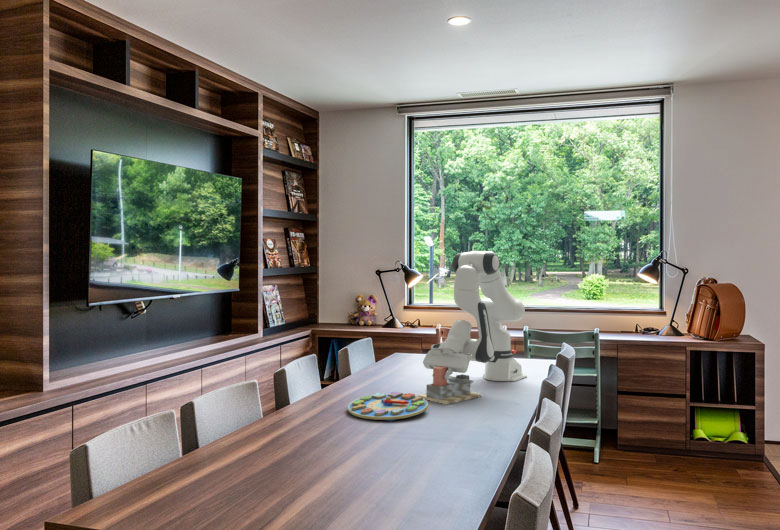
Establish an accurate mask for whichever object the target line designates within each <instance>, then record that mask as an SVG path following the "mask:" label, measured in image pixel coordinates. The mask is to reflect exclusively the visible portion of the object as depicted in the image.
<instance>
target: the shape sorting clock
mask: <svg viewBox="0 0 780 530" xmlns="http://www.w3.org/2000/svg"><path fill="white" fill-rule="evenodd" d="M428 408H429V402H428V400H425V399H423V397H418V395H415V393H409V392H408V393H403V392H399V391H391V392H390V393H383V392H377V393H374V394H371V395H366V396H363V397H362V396H361V397H358V398H356V399H354V400H352V401H351V402H349V404H348V405H347V411H348V412H349V413H350V414H351V415H352V416H354V417H356V418H357V417H358V418H362V419H365V420H376V421H377V420H379V421H382V420H383V421H387V422H394V421H398V420H401V419H406V418H411V417H414V416H417V415H420V414H422V413H425V411H427V409H428Z"/></svg>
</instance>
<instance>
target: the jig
mask: <svg viewBox="0 0 780 530" xmlns="http://www.w3.org/2000/svg"><path fill="white" fill-rule="evenodd" d="M471 384H475V383H474V380H472V379H470V375H467V374H464V373H461V374H456V375H455V376H452V375H450V376H448V378H447V385H445V386H440V387H438V386H433V383H429V384H426V393H422V394H418V395H417V396H418V397H423V399H426V401H428V400H430V401H429V402H433V401H434V402H433V403H437V402H438V404H441V403H442V404H441V405H445V404H447V405H451V404H450V403H452V404H455V403H454V402H456V403H460V402H464V401H463V400H465V401H468V400H467V399H469V400H472V399H471V398H474V399H477V398H476V397H478V398H481V397H480V396H482V393H479V392H476V391H475V392H474V391H471ZM459 401H460V402H459Z"/></svg>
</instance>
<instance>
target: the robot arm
mask: <svg viewBox="0 0 780 530" xmlns="http://www.w3.org/2000/svg"><path fill="white" fill-rule="evenodd" d="M451 266H452V269H453V271H454V272H453V273H455V277H454V283H453V284H454V285H453V299H454V303H455V305H456V306H457V307H458V309H459V308H460V310H462V311H464V312H466V313H468V314H470V315H472V316H473V317H474V319H475V320H476V325H477V333H478V338H471V333H472V332H471V331H472V327H473V326H472V323H471V322H469V321H467V320H464V319H457V320H455V321H454V322H453V323H452V325H451V328H450V329H449V331H448V333H447V336H446V337H447V338H446V339H444V341H443V342H440V343H435V344H432V345H431V346H430V350H428V352H427V353H426V354H425V356H424V358H423V360H422V364H423V366H424V368H425V369H428V370H433V368H435V367H438V366H440V367H447V373H446V374H445V373H444V374H443V379H447V378H448V376H452V375H453V373H461V374H465V373H467V371H468V368H469V366H470V362H478V363H481V364H482V363H483V364H484V365H485V366H484V373H483V374H482V376H483V379H485V380H487V381H494V382H517V381H519V380H521V379H526V378H527V377H528V375H527V374H524V373H523V369H522V368H523V367H522V364H520V362H518V361H517V360H516V359H515V358H514V356H513V355H516V353H517V350H515V349H511V341H512V340H511V338H512V337H511V336H512V335H511V334H510V332H509V331H508V330H507V329H505V328H504V327H503V325H502V323H501V322H505V323H506V322H507V323H515V322H520V321H521V320H522V319H523V318H524V317H525V312H526V311H525V310H526V309H525V305H524V304H523V302H522V301H521V300H518V299H517V298H516V297H514V296H513V295H512V293H510V291H509V290H508V289H507V287H506V286H505V282H504V281H503V277H502V273H501V271H500V270H501V269H500V259H499V256H498V254H497V253H495V252H494V251H489V250H487V251H486V250H485V251H483V250H474V251H466V252H463V251H462V252H459V253H456V254H454V256H453V258H452V262H451ZM480 290H481V294H482V295H483V296H484V297H486V298H482V299H481V297H480ZM431 376H432V377H433V374H432V375H431Z"/></svg>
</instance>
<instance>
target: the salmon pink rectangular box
mask: <svg viewBox="0 0 780 530" xmlns="http://www.w3.org/2000/svg"><path fill="white" fill-rule="evenodd" d="M432 370H433V371H432V375H433V376H432V380H433V381H432V384H433V386H438V387H440V386H445V385H447V381H448V380H447V379H443V374H444V373H445V374H446V373H447V372H448V371H447V367H440V366H438V367H435V368H433V369H432Z"/></svg>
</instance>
